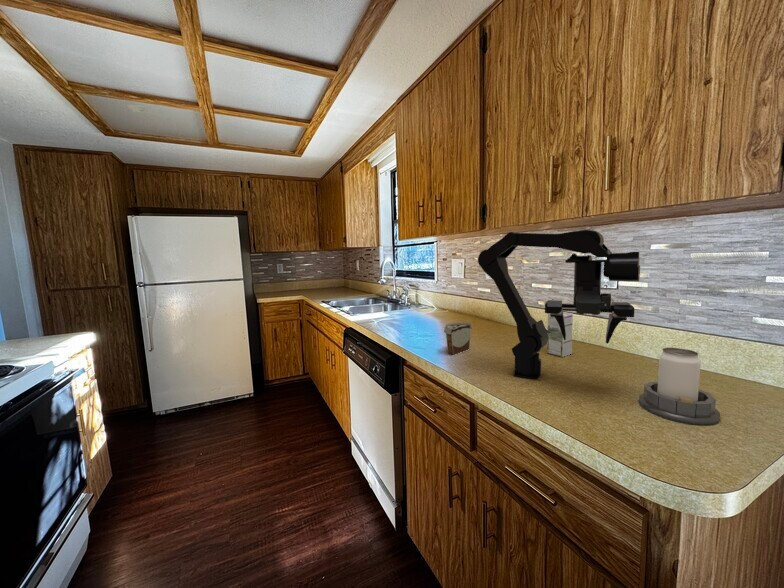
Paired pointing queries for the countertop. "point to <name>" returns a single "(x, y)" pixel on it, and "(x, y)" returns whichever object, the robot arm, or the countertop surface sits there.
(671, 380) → the can
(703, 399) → the collar
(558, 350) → the syrup box
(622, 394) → the countertop surface
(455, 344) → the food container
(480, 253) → the robot arm
